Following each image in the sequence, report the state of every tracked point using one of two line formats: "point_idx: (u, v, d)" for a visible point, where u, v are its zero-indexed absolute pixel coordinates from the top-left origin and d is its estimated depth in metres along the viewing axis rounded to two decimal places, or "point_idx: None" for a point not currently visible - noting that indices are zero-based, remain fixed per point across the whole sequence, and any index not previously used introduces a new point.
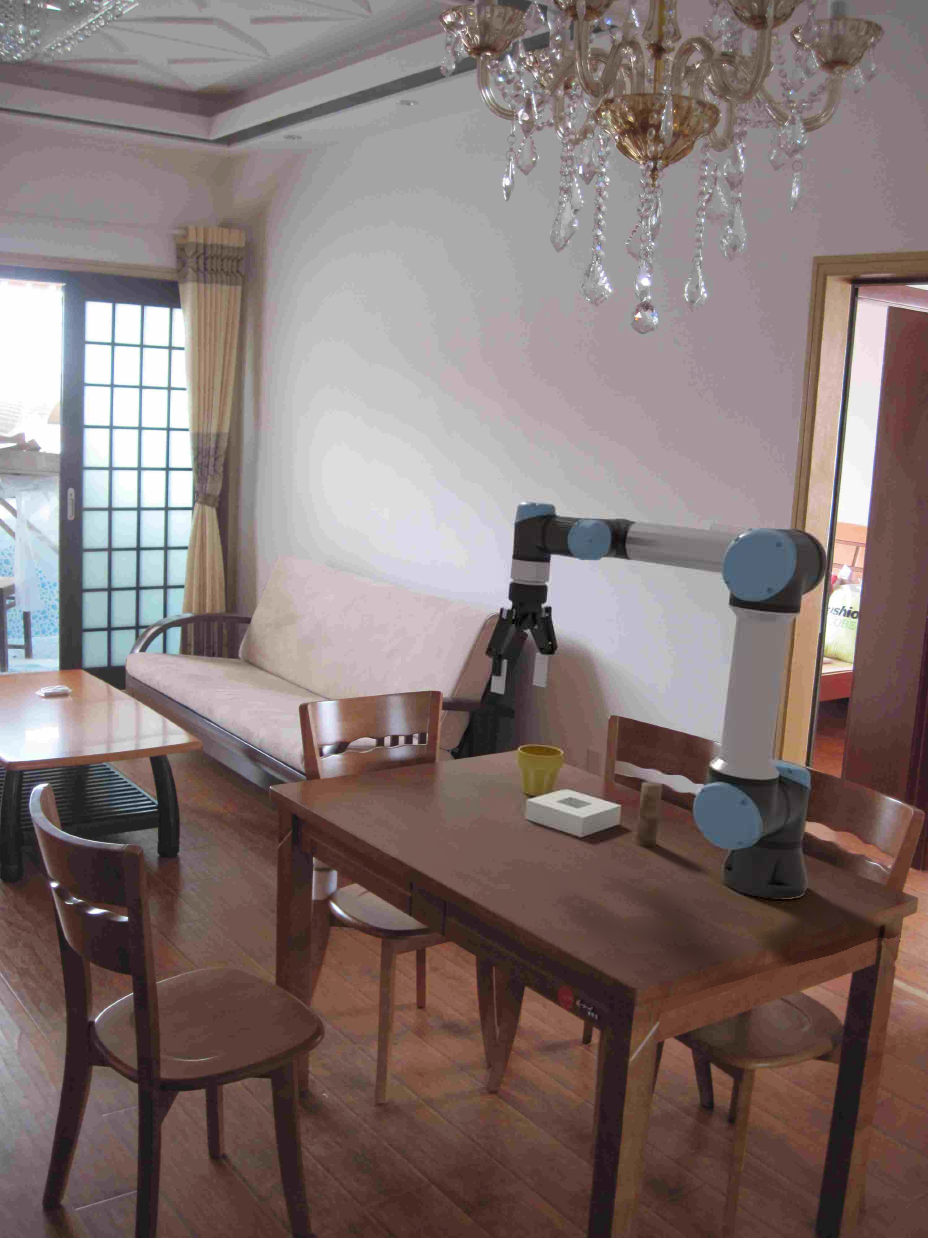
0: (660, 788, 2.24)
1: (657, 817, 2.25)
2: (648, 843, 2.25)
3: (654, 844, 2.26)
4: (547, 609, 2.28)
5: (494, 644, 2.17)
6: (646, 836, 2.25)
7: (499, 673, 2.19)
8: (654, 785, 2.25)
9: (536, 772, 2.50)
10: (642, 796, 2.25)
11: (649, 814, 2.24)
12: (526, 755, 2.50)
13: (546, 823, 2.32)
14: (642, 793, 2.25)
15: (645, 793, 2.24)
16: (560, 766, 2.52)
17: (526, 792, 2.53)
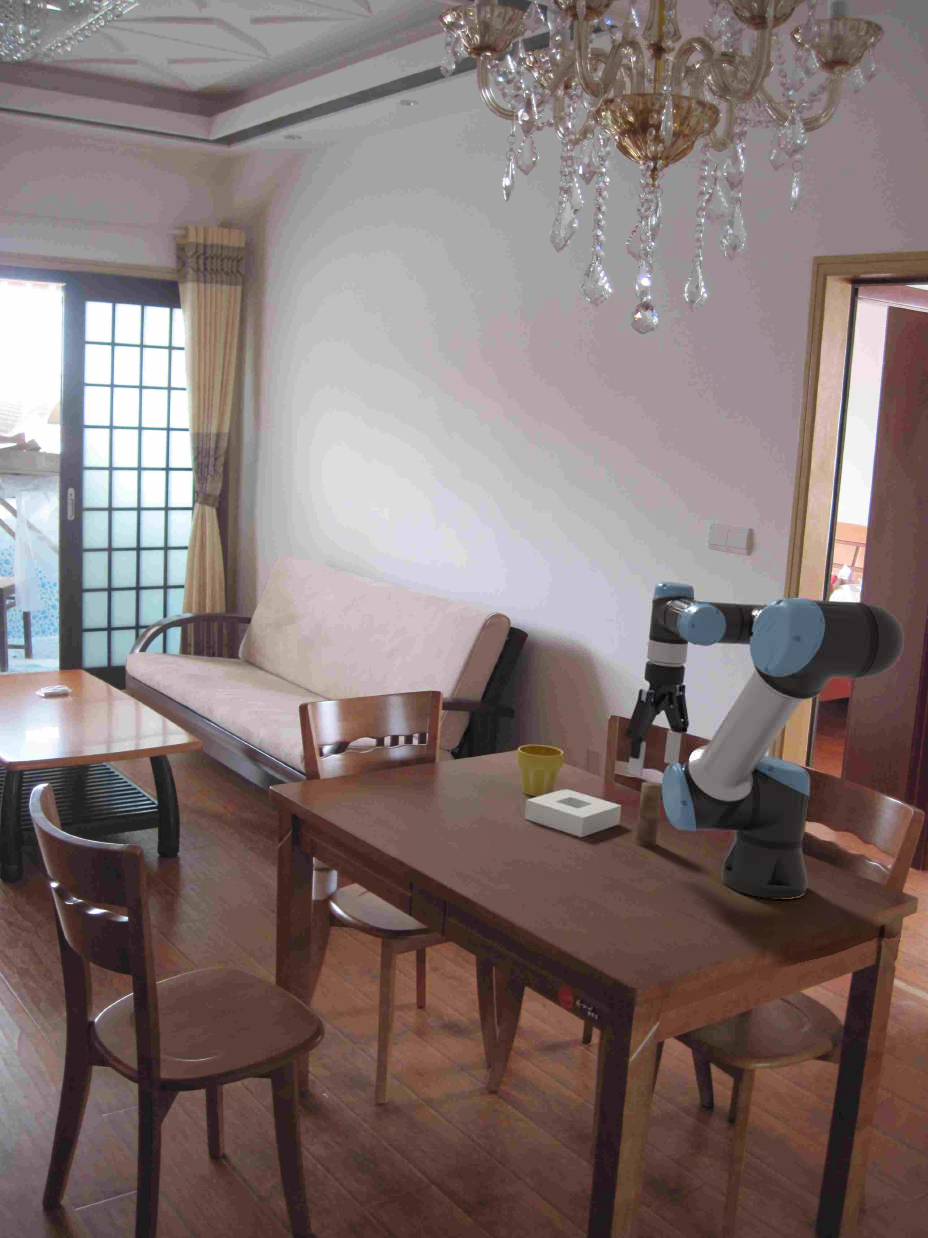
0: (660, 788, 2.24)
1: (657, 817, 2.25)
2: (648, 843, 2.25)
3: (654, 844, 2.26)
4: (681, 688, 2.27)
5: (634, 727, 2.17)
6: (646, 836, 2.25)
7: (638, 755, 2.18)
8: (654, 785, 2.25)
9: (536, 772, 2.50)
10: (642, 796, 2.25)
11: (649, 814, 2.24)
12: (526, 755, 2.50)
13: (546, 823, 2.32)
14: (642, 793, 2.25)
15: (645, 793, 2.24)
16: (560, 766, 2.52)
17: (526, 792, 2.53)
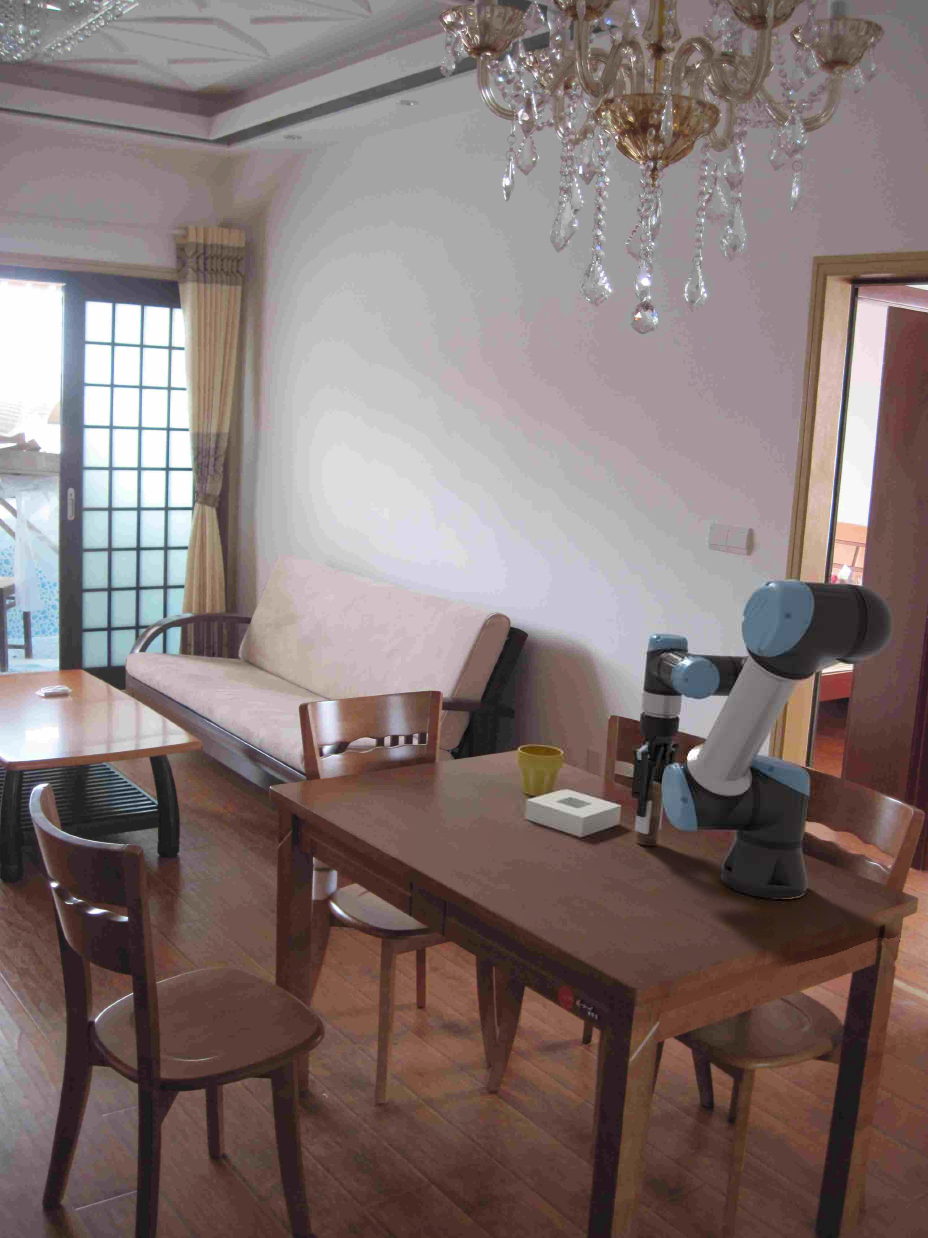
0: (660, 787, 2.24)
1: (658, 816, 2.25)
2: (649, 842, 2.25)
3: (655, 843, 2.25)
4: (675, 745, 2.28)
5: (638, 788, 2.21)
6: (647, 835, 2.24)
7: (644, 814, 2.23)
8: (654, 784, 2.25)
9: (536, 772, 2.50)
10: None
11: None
12: (526, 755, 2.50)
13: (546, 823, 2.32)
14: None
15: None
16: (560, 766, 2.52)
17: (526, 792, 2.53)
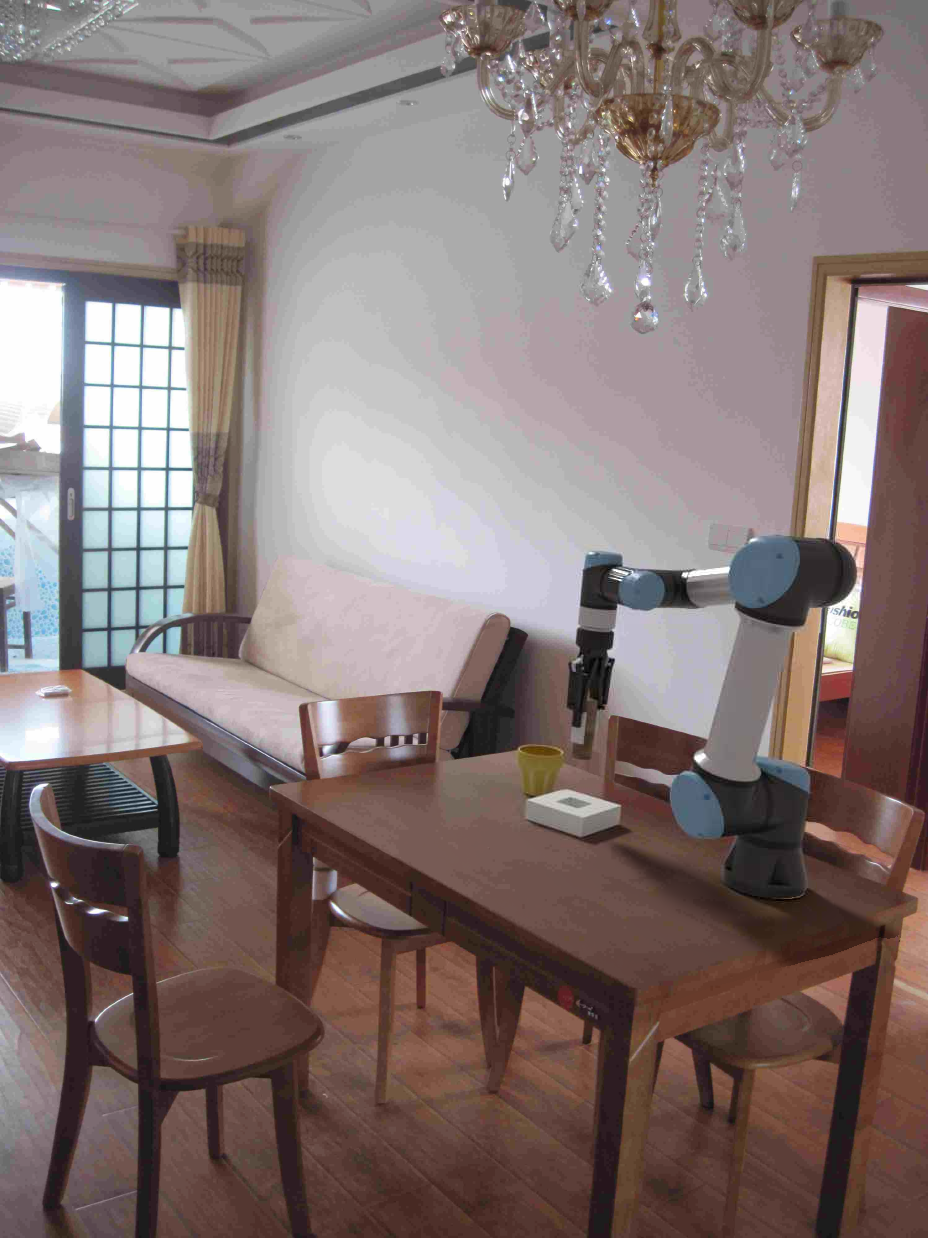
0: (595, 703, 2.32)
1: (592, 731, 2.33)
2: (583, 756, 2.33)
3: (589, 757, 2.34)
4: (611, 660, 2.35)
5: (572, 699, 2.29)
6: (581, 749, 2.33)
7: (579, 725, 2.31)
8: (589, 700, 2.33)
9: (536, 772, 2.50)
10: None
11: None
12: (526, 755, 2.50)
13: (546, 823, 2.32)
14: None
15: None
16: (560, 766, 2.52)
17: (526, 792, 2.53)
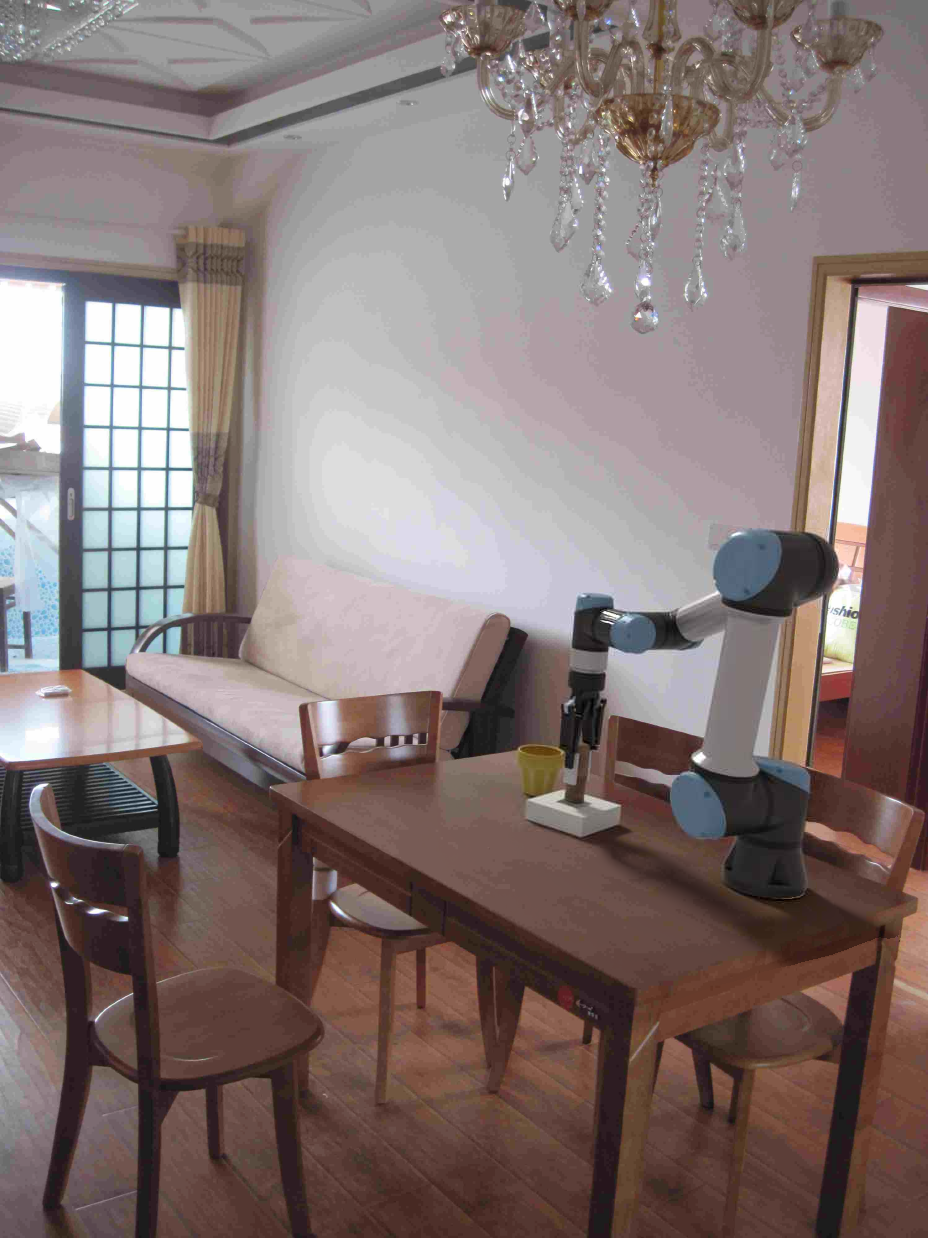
0: (587, 747, 2.33)
1: (584, 775, 2.34)
2: (576, 800, 2.34)
3: (582, 802, 2.35)
4: (603, 700, 2.37)
5: (565, 740, 2.30)
6: (574, 793, 2.34)
7: (572, 766, 2.32)
8: (581, 745, 2.34)
9: (536, 772, 2.50)
10: None
11: None
12: (526, 755, 2.50)
13: (546, 823, 2.32)
14: None
15: None
16: (560, 766, 2.52)
17: (526, 792, 2.53)
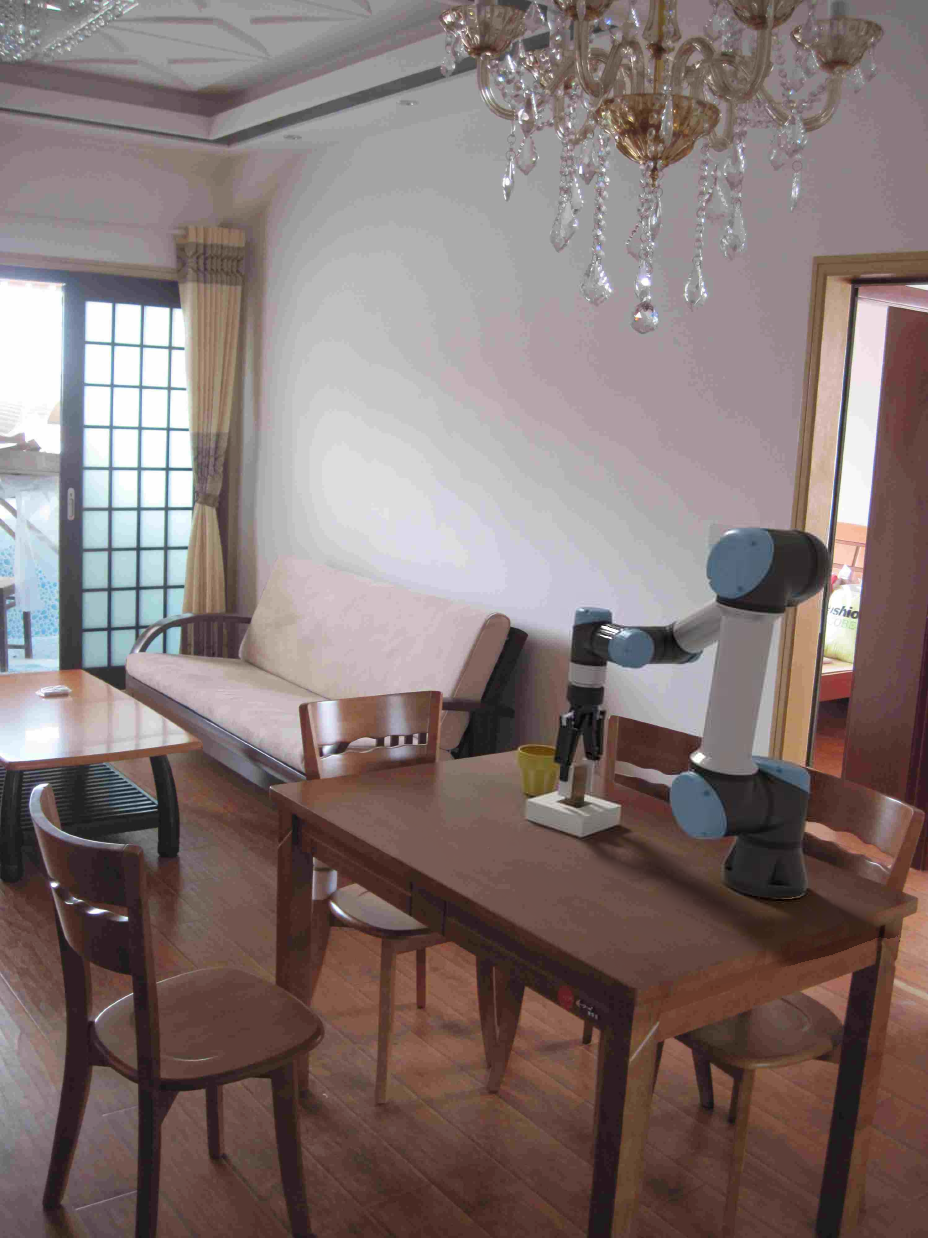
0: (585, 768, 2.34)
1: (582, 796, 2.35)
2: None
3: None
4: (602, 712, 2.37)
5: (560, 752, 2.29)
6: None
7: (566, 779, 2.31)
8: (580, 765, 2.35)
9: (536, 772, 2.50)
10: None
11: (575, 793, 2.34)
12: (526, 755, 2.50)
13: (546, 823, 2.32)
14: None
15: None
16: None
17: (526, 792, 2.53)
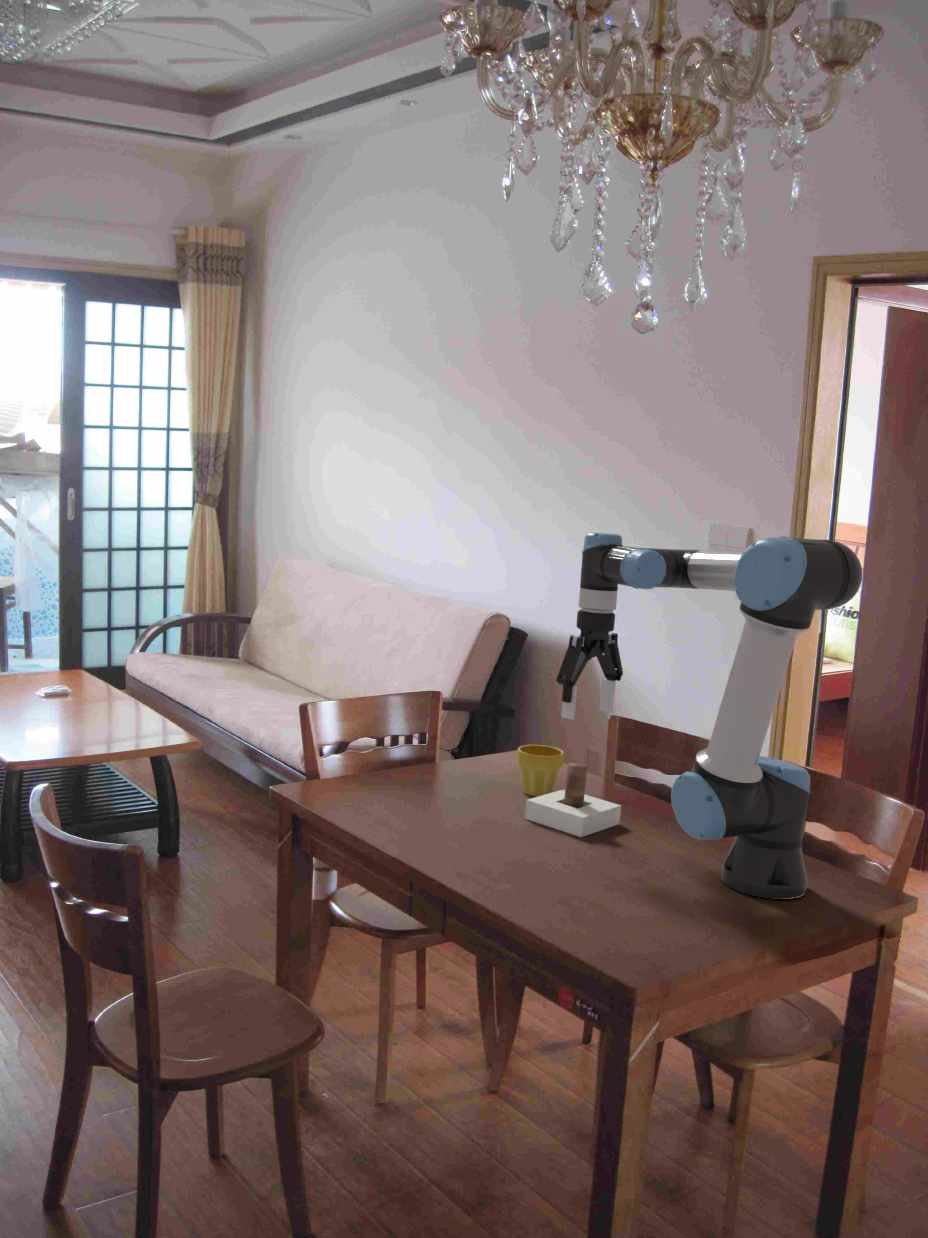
0: (585, 768, 2.34)
1: (582, 796, 2.35)
2: None
3: None
4: (613, 636, 2.34)
5: (565, 671, 2.23)
6: None
7: (569, 699, 2.25)
8: (579, 765, 2.35)
9: (536, 772, 2.50)
10: (568, 776, 2.35)
11: (574, 793, 2.34)
12: (526, 755, 2.50)
13: (546, 823, 2.32)
14: (568, 773, 2.35)
15: (570, 773, 2.34)
16: (560, 766, 2.52)
17: (526, 792, 2.53)
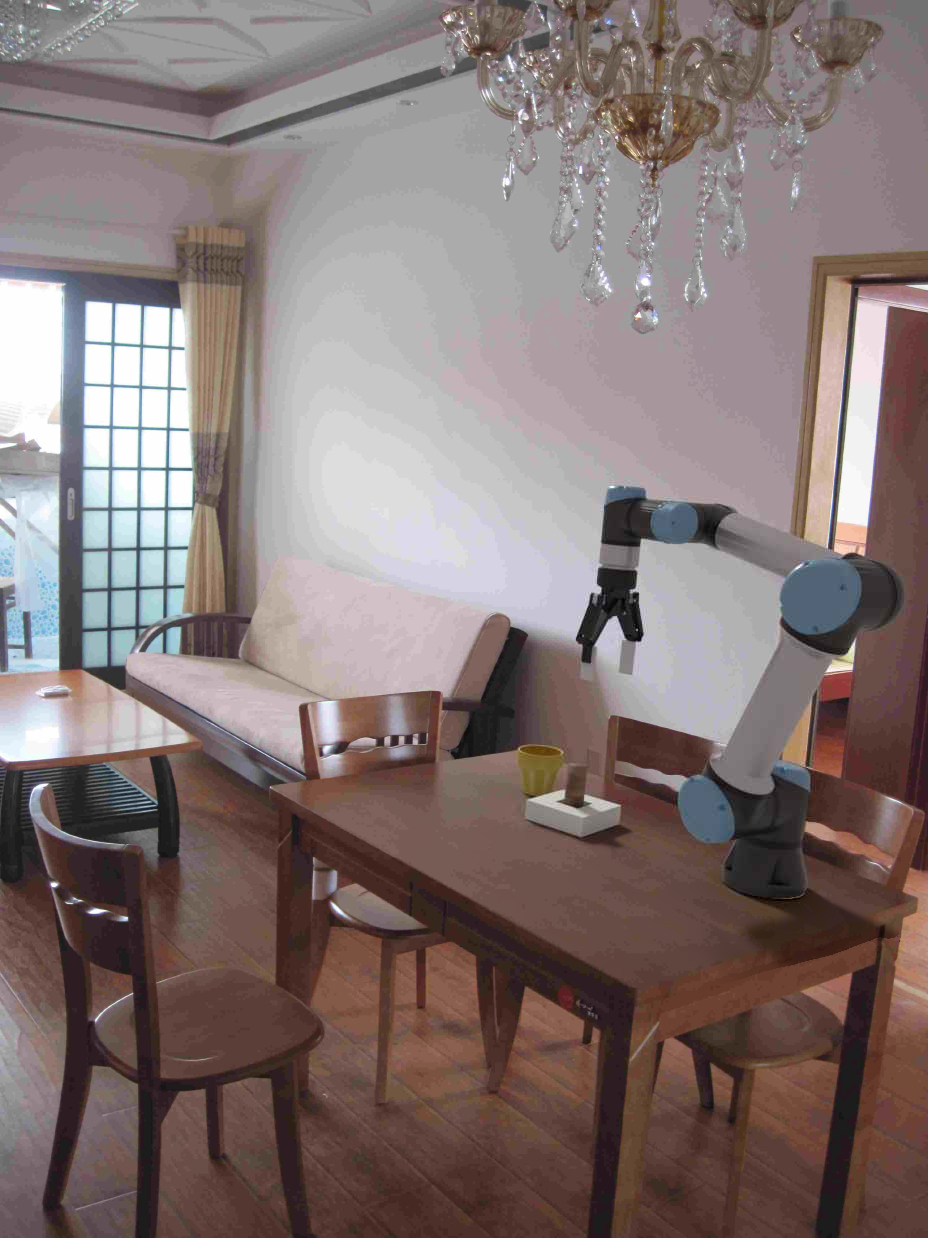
0: (585, 768, 2.34)
1: (582, 796, 2.35)
2: None
3: None
4: (635, 595, 2.23)
5: (585, 630, 2.13)
6: None
7: (589, 660, 2.15)
8: (579, 765, 2.35)
9: (536, 772, 2.50)
10: (568, 776, 2.35)
11: (574, 793, 2.34)
12: (526, 755, 2.50)
13: (546, 823, 2.32)
14: (568, 773, 2.35)
15: (570, 773, 2.34)
16: (560, 766, 2.52)
17: (526, 792, 2.53)
